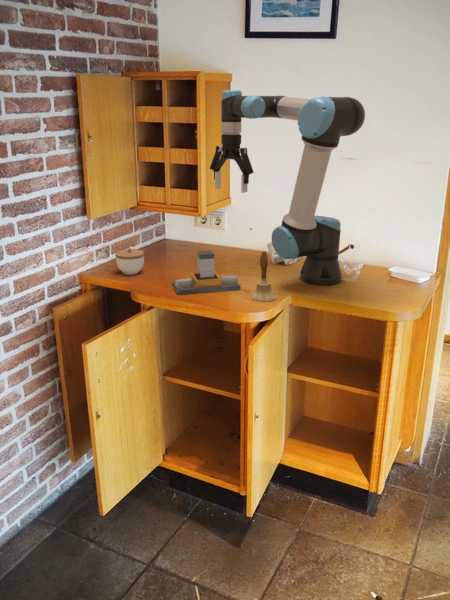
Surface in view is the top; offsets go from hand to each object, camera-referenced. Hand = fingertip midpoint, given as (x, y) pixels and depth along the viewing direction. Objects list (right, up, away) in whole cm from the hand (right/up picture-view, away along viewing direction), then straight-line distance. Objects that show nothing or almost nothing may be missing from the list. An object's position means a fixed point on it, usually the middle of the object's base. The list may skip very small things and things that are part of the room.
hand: (230, 190), depth 219 cm
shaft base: (-9, -38, -20) cm, 44 cm away
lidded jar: (-38, -32, -5) cm, 50 cm away
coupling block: (-9, -37, -21) cm, 43 cm away
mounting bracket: (+22, -27, +10) cm, 36 cm away
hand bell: (+11, -42, -31) cm, 53 cm away
